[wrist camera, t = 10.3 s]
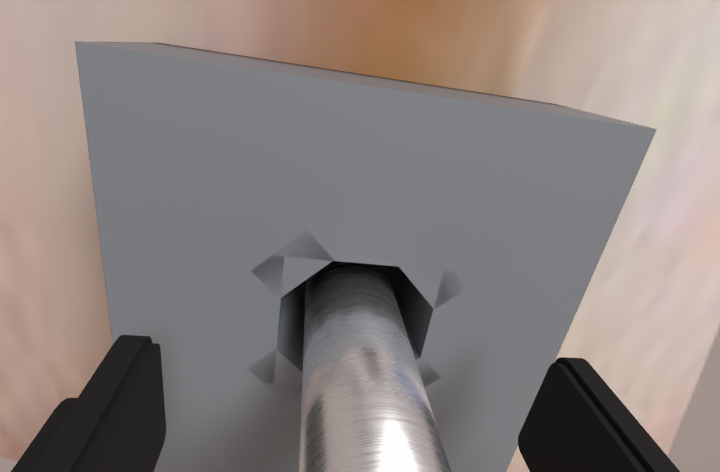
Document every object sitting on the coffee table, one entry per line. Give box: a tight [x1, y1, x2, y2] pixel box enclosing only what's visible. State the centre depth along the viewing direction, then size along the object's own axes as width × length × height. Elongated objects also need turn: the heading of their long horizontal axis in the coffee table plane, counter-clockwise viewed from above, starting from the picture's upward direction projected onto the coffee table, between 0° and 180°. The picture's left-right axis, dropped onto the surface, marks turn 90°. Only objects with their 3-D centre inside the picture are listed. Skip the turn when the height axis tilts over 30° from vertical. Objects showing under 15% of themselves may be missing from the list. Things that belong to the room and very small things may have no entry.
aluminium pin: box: [299, 261, 451, 472], centre depth 11 cm, size 3×3×11 cm
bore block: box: [75, 42, 657, 472], centre depth 15 cm, size 14×14×5 cm
